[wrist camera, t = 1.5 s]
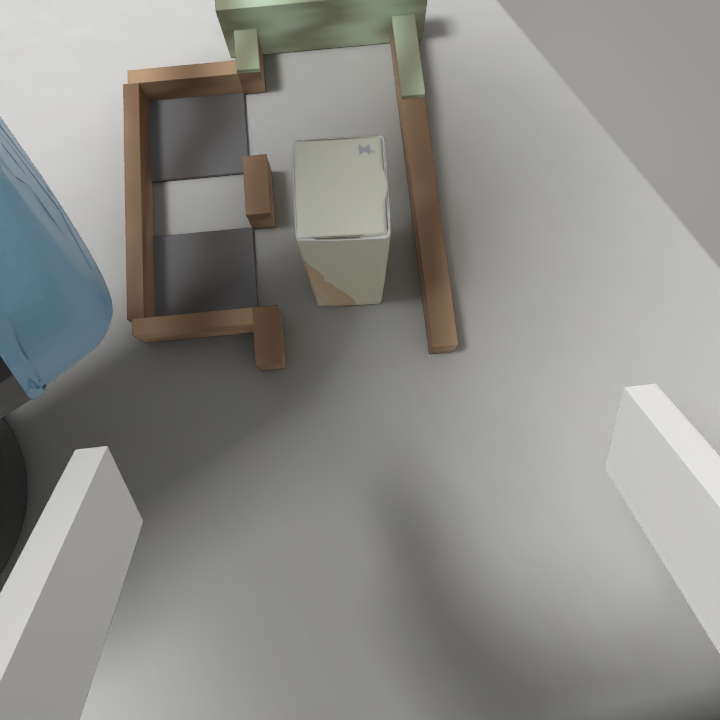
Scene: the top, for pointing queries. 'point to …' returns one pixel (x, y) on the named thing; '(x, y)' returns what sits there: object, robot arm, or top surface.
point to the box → (342, 217)
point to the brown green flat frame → (258, 170)
